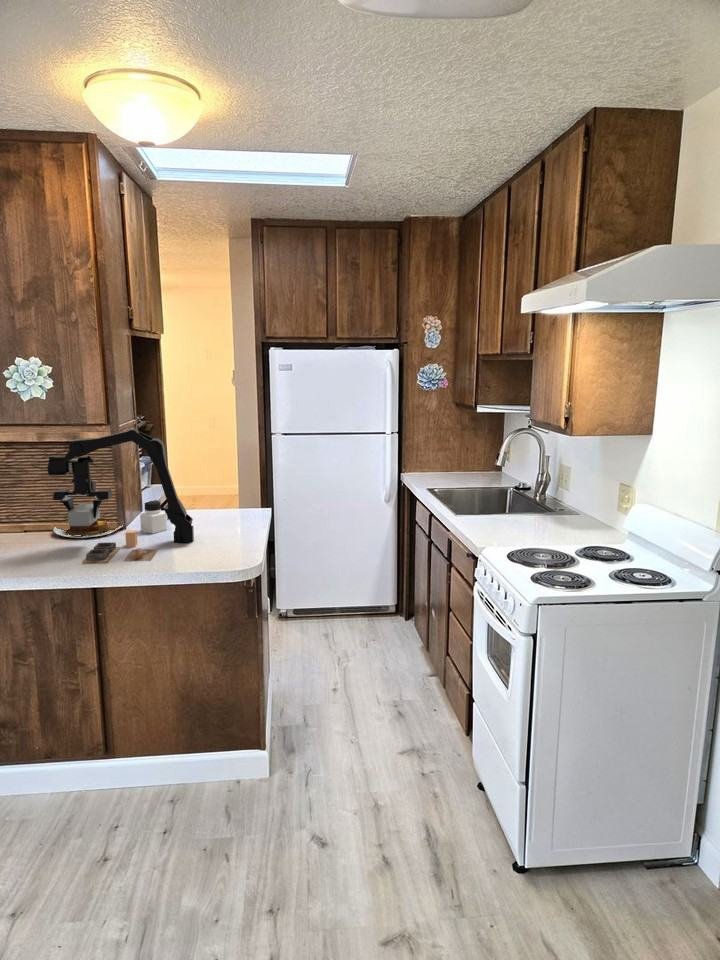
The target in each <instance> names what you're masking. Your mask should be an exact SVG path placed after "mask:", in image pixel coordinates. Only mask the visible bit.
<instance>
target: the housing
mask: <svg viewBox="0 0 720 960" xmlns="http://www.w3.org/2000/svg"><path fill="white" fill-rule="evenodd" d="M100 517H101V514H100V509H99V510H98V513H97V517H96V518H94V512H93V503H79V504H77V505H76V506H74V508H73V509H71V510H70V511H68V510H67V521H68V524H69V526H90V525H91V524H92V523H94V522H95V521H96V520H97V519H98V518H100Z"/></svg>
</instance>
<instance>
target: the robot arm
mask: <svg viewBox="0 0 720 960" xmlns="http://www.w3.org/2000/svg"><path fill="white" fill-rule="evenodd" d="M128 442H129V443H130V442H133V443H134V444H135V445H137V446H138V447H140V448H142V449H143V450H145V451H146V453H147V454H146V455H147V456H148V457H149V459H150V460H151V462H152V464H153V465H154V466H155V469H156V472H157V476H158V478H159V481H160V484H161V487H162V490H163V493H164V496H165V498H166V501H167V505H165V507H164V509H163V510H164V513H166V521H169V522H170V524H171V525H174V527H175V528H174V531H173V543H176V544H180V545H181V544H186V545H187V544H190V543H191V544H193V542H194V541H195V536H194V535H195V533H194V525H192V524H193V518H192V516H190V515H189V514H188V513H187V509H186V508H185V507H184V504H183V502H182V501H181V500H180V498H179V496H178V493H177V491H176V488H175V485H174V482H173V479H172V475H171V472H170V468H169V466H168V463H167V456H166V455H167V454H166V448H165V447H166V446H165V443H164V442H163V440H161V438H157V437H155V438H154V437H152V436H150V435H147V434H145V433H144V432H141V431H139V430H138V429H136V428H132V429H129V430H126V431H121V432H118V433H113V434H109V435H104V436H101V437H85V438H77V439H75V440H73V441H72V442H71V443H70V444H69V445H68V446H69V448H68V452H67V453H66V454H65V455H64V456H56V455H50V456H49V457H48V462H47V474H48V476H51V477H53V476H54V477H55V476H56V477H57V476H69V473H71V472H72V479H71V483H72V485H73V487H72V488H73V490H72V491H70V489H68V488H65V489H64V488H63V489H57V490H55V491H54V492H53V493H52V501H59V503H62V504H63V506H64V507H65V508H66V509H67V512H68V511H70V510H71V509H73V508H74V507H75V506H74V499H75V498H95V499H93V500H92V504H93V512H94V518H96V517H97V513H98V510H99V511H100V507H101V504H102V502H104V501H105V500H106V501H107V500H109V499H111V498H112V497H113V490H112V489H111V488H99V489H98V490H97V489H96V487H97V482H96V481H94V480H93V479H92V476H91V465H90V464H93V463H95V462H96V458H94V457H93V456H92V455H91V454H90V453H93V452H96V451H97V450H100V449H104V448H108V447H111V446H116V445H120V444H124V443H125V444H126V443H128ZM89 454H90V455H89ZM86 455H88V456H87V457H84V456H86ZM75 458H77V459H75ZM96 490H97V491H96Z"/></svg>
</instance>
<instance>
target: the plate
mask: <svg viewBox="0 0 720 960" xmlns="http://www.w3.org/2000/svg"><path fill="white" fill-rule="evenodd" d="M158 551H159V549H158V548H157V549H155V548H154V549H153V548H152V549H148V548H147V549H143V548H136V549H131V550H130V552H129V553H128V554H127V555H126V557H124V560H123V562H151V561H152V560H153V558H154V557H155V555H156V554H157V552H158Z"/></svg>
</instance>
